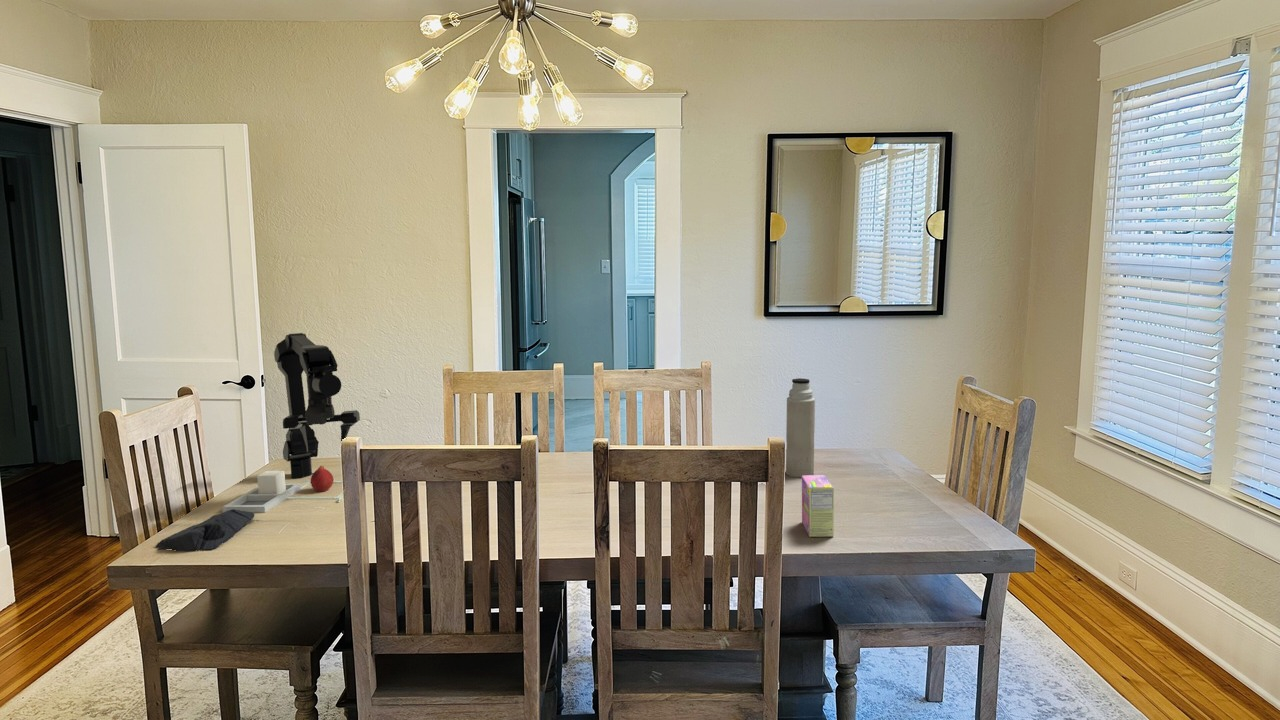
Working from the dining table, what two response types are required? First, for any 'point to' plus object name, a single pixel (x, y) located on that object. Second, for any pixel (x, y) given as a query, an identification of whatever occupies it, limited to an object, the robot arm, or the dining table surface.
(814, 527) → the box
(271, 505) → the grey divided tray
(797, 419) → the thermos bottle
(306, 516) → the dining table surface
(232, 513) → the dark folded cloth
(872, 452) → the dining table surface
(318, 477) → the onion
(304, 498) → the pale green square frame
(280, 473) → the cream block
